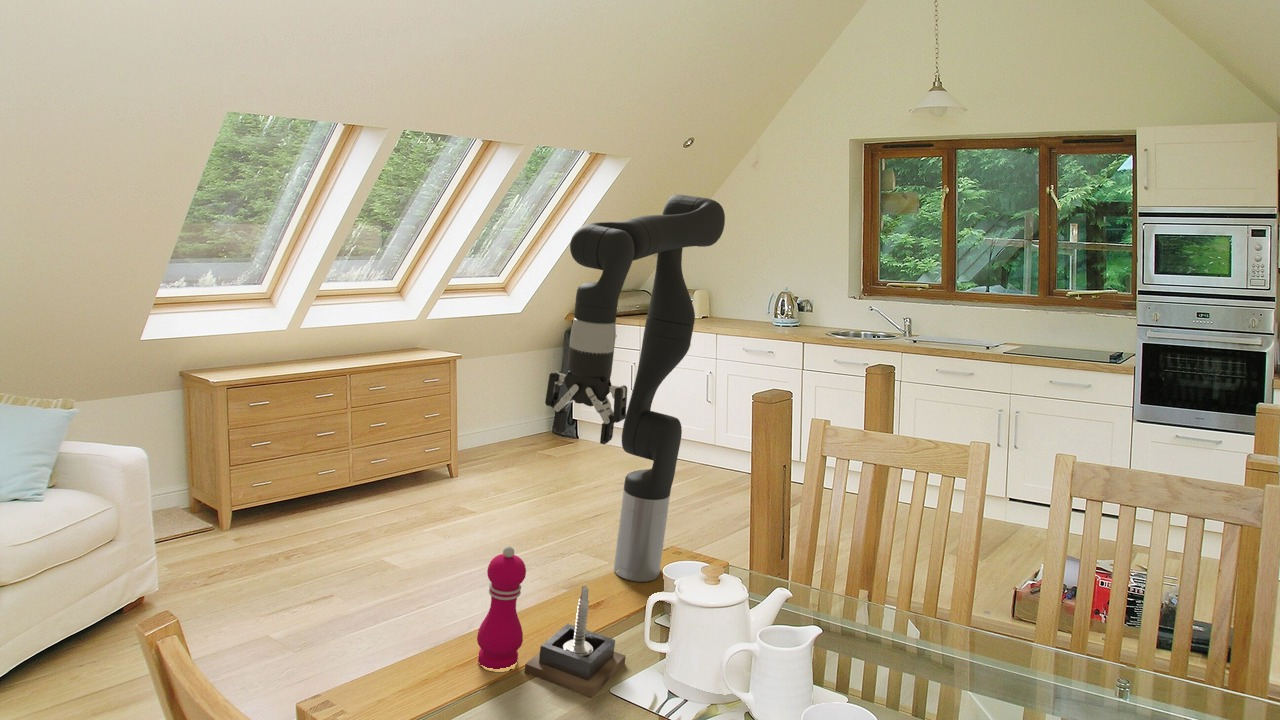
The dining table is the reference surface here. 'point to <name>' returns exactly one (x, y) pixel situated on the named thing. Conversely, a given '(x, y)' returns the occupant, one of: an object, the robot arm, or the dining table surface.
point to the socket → (572, 662)
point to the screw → (580, 628)
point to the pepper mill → (502, 612)
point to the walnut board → (572, 681)
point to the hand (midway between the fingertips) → (582, 437)
